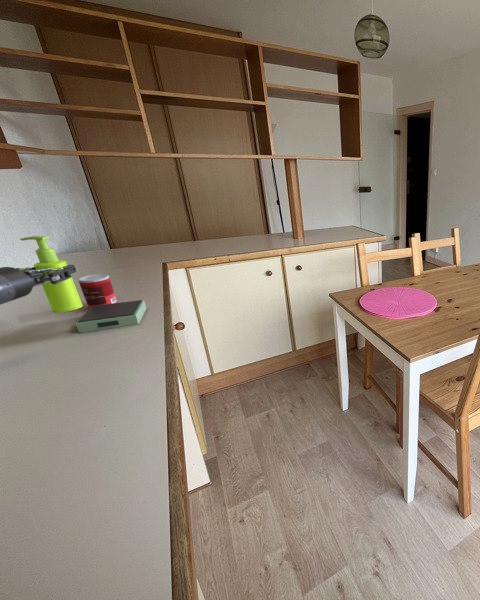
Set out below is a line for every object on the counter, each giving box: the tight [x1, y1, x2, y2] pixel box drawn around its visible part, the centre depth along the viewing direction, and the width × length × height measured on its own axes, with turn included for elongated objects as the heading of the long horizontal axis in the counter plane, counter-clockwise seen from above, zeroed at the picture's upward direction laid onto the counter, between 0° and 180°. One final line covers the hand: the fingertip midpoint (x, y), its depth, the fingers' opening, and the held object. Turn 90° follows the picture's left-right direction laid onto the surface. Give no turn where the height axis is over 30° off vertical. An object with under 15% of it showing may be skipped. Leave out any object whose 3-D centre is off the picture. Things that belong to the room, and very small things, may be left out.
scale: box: [75, 299, 147, 333], centre depth 100 cm, size 14×14×3 cm
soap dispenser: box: [19, 235, 84, 313], centre depth 84 cm, size 6×7×20 cm
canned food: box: [77, 273, 118, 310], centre depth 108 cm, size 8×8×11 cm
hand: (60, 268), depth 85 cm, fingers closed on soap dispenser, 6 cm apart
